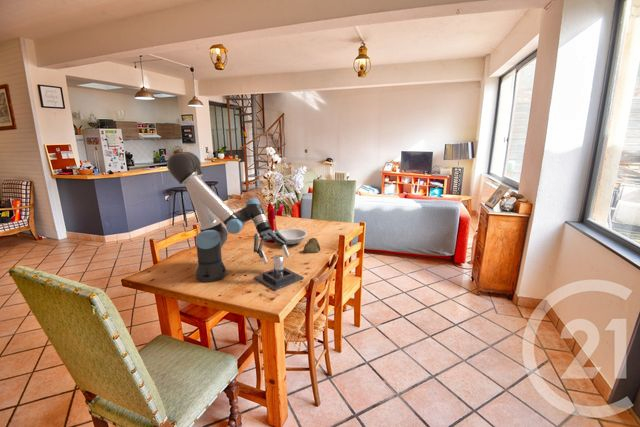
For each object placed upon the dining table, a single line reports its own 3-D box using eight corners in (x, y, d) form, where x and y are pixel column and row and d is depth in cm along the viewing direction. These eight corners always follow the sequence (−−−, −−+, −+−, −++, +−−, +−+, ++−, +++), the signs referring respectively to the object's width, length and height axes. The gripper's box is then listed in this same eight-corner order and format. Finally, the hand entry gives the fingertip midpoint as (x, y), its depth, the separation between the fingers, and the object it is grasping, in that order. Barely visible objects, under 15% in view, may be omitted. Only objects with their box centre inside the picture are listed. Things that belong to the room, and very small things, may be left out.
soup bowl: (266, 246, 202) (265, 236, 200) (283, 235, 224) (283, 226, 222) (298, 251, 193) (298, 241, 192) (312, 239, 215) (312, 230, 213)
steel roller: (277, 279, 152) (277, 259, 149) (272, 276, 156) (271, 256, 153) (285, 276, 155) (285, 257, 153) (280, 273, 159) (279, 254, 156)
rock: (298, 249, 189) (312, 250, 184) (302, 236, 193) (315, 237, 187) (307, 255, 198) (320, 256, 193) (310, 242, 201) (323, 243, 196)
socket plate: (274, 290, 143) (274, 285, 143) (254, 278, 156) (254, 272, 155) (303, 279, 155) (303, 273, 155) (282, 268, 168) (282, 263, 167)
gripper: (278, 224, 173) (293, 256, 167) (238, 232, 157) (253, 268, 150) (284, 217, 168) (299, 251, 161) (243, 225, 152) (258, 262, 145)
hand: (277, 259), depth 156 cm, fingers open, 13 cm apart
